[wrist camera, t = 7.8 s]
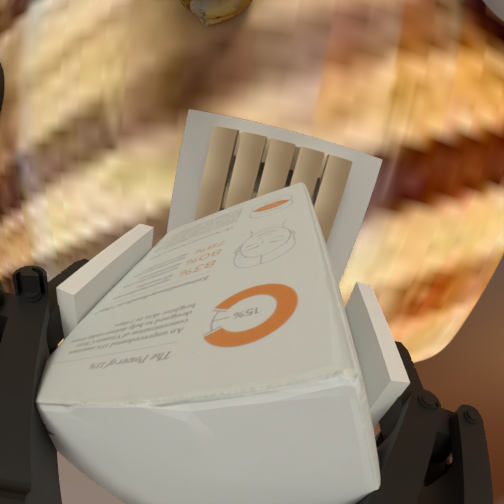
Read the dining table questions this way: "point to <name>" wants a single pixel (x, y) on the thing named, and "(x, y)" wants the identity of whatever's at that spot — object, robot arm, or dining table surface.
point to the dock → (195, 159)
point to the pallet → (268, 173)
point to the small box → (219, 370)
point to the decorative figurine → (215, 9)
